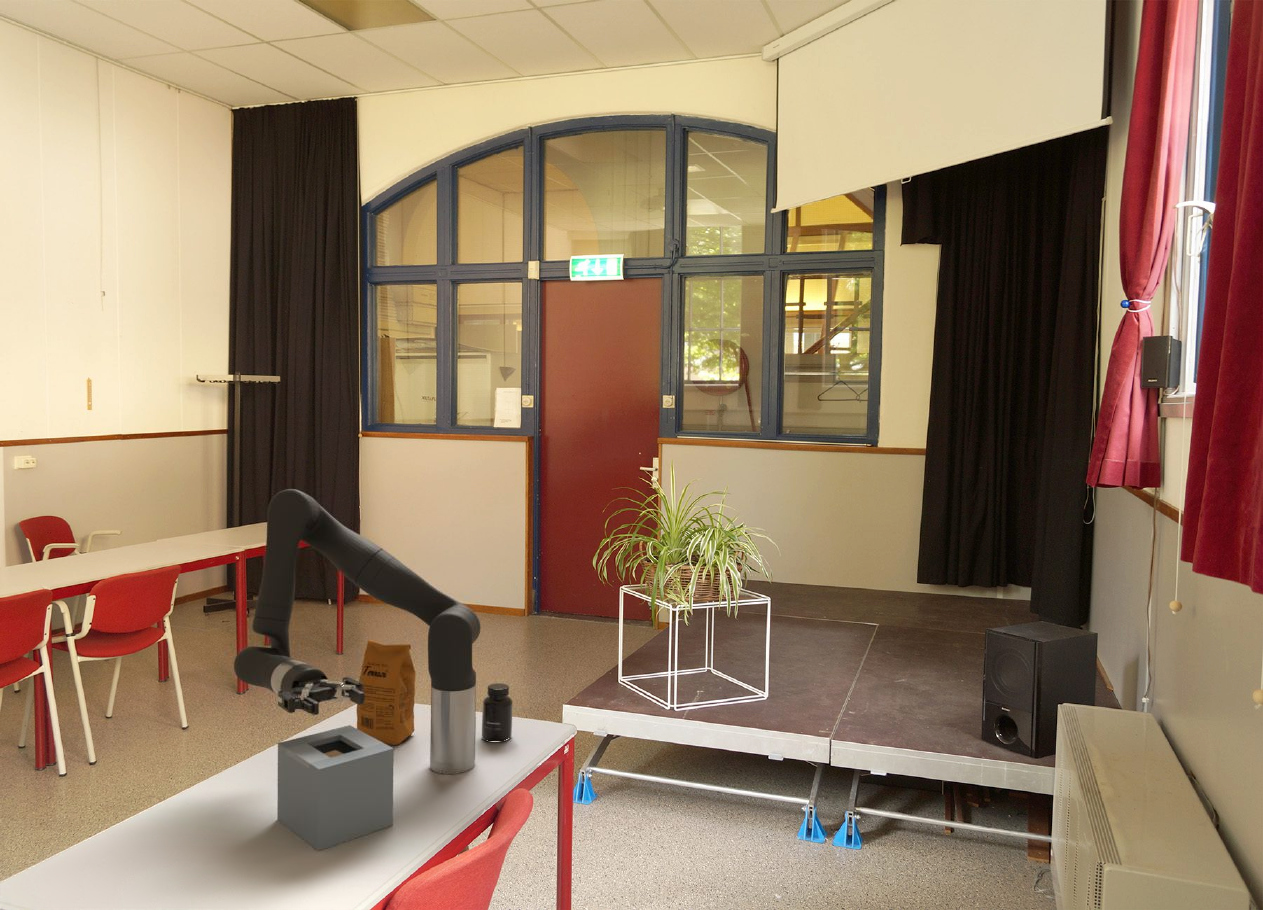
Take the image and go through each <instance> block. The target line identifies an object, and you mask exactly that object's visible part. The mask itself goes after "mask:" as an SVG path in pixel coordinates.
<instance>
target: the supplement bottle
mask: <svg viewBox="0 0 1263 910" xmlns="http://www.w3.org/2000/svg"><path fill="white" fill-rule="evenodd" d="M509 690H510V686H509V685H508V684H507V683H501V682H499V683H497V682H496V683H491V684H489V685H488V686H487V693H486V694H487V696H486V697H485V698H484V699H483V701H482V710H481V711H482V715H481V738H482V739H483V738H484V739H485V740H488V741H504V740H506V739H508V738H510V737H511V738H512V733H513V731H512V729H513V708H514V707H513V706H514V705H513V704H514V703H513V699H512V698H511V697H510V696H509V694H510V691H509ZM511 738H510V739H511ZM484 739H483V740H484ZM485 740H484V741H485ZM488 741H487V742H488ZM504 742H505V741H504Z"/></svg>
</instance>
